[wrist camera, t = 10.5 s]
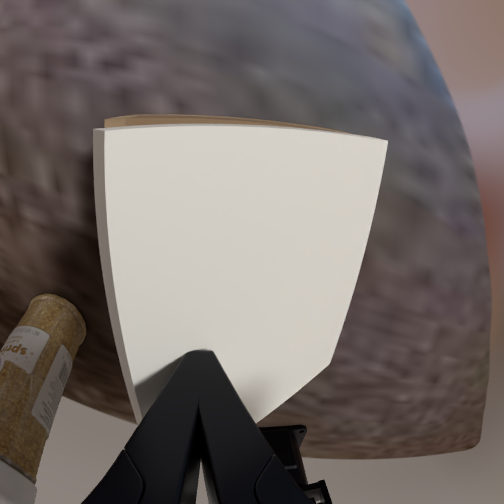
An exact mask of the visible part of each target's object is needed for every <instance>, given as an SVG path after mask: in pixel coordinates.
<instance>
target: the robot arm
mask: <svg viewBox="0 0 504 504" xmlns="http://www.w3.org/2000/svg"><path fill="white" fill-rule="evenodd" d="M306 432H307V428H306V426H292V427H281V428H267V429H259V428H258V426H257V425H256V423H255V421H254V420H253V418H252V416H251V415H250V413H249V412H248V410H247V408H246V407H245V405H244V403H243V402H242V400H241V398H240V397H239V395H238V393H237V391H236V390H235V388H234V386H233V385H232V383H231V381H230V379H229V378H228V376H227V374H226V372H225V371H224V369H223V367H222V365H221V364H220V362H219V360H218V358H217V356H216V355H215V353H214V352H213V351H212V350H192V351H189V352H187V353H186V354H185V355H184V356H183V358H182V359H181V361H180V362H179V364H178V365H177V367H176V368H175V370H174V371H173V373H172V374H171V376H170V378H169V379H168V381H167V382H166V384H165V385H164V387H163V388H162V390H161V391H160V393H159V394H158V396H157V397H156V399H155V401H154V402H153V404H152V405H151V407H150V408H149V410H148V411H147V413H146V414H145V416H144V417H143V419H142V421H141V422H140V424H139V425H138V427H137V428H136V430H135V431H134V433H133V434H132V436H131V438H130V439H129V441H128V442H127V444H126V445H125V447H124V449H125V450H122V451H121V453H120V454H119V456H118V457H117V459H116V460H115V462H114V463H113V465H112V466H111V467H110V469H109V470H108V472H107V473H106V475H105V476H104V477H103V479H102V480H101V481H100V482H99V483H98V485H97V486H96V487H95V488H94V489H93V491H92V492H91V493H90V494H89V495H88V497H87V498H86V499H85V500H84V501H83V502H82V503H81V504H196V495H197V487H198V478H199V470H200V462H201V463H202V468H203V474H204V480H205V485H206V491H207V496H208V501H209V504H316V501H319V500H320V501H321V503H317V504H332V501H331V498H330V495H329V492H328V489H327V486H326V483H325V480H321V481H318V482H317V483H312V484H308V481H307V477H306V474H305V470H304V466H303V462H302V458H301V454H300V450H299V447H300V445H301V443H302V441H303V439H304V437H305V434H306Z"/></svg>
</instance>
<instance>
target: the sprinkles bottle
mask: <svg viewBox="0 0 504 504" xmlns="http://www.w3.org/2000/svg"><path fill="white" fill-rule="evenodd" d="M85 336H86V324H85V321H84V319H83V317H82V315H81V314H80V312H79V311H78V309H77V308H76V307H75V306H74V305H73V304H72V303H70V302H69V301H68V300H66V299H64V298H62V297H59V296H57V295H55V294H50V293H47V294H42V295H38V296H36V297H34V299H32V300H31V302H30V304H29V306H28V310H27V311H26V313H25V314H24V316H23V317H22V319H21V320H20V322H19V323H18V325H17V327H16V328H15V329H14V330H13V331H12V333H11V334H10V336H9V337H8V339H7V341H6V342H5V344H4V346H3V347H2V349H1V351H0V504H34V502H35V497H36V493H37V489H36V487H35V483H36V474H37V471H38V467H39V463H40V460H41V456H42V453H43V449H44V446H45V442H46V440H47V438H48V437H49V433H50V430H51V427H52V423H53V420H54V417H55V414H56V411H57V408H58V405H59V402H60V399H61V397H62V394H63V391H64V388H65V385H66V383H67V380H68V377H69V375H70V372H71V369H72V363H73V360H74V358H75V355H76V353H77V350H78V347H79V345H81V344H82V342H83V341H84V338H85Z"/></svg>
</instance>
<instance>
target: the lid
mask: <svg viewBox="0 0 504 504" xmlns="http://www.w3.org/2000/svg"><path fill="white" fill-rule="evenodd" d="M387 144H388V141H386V140H382V139H378V138H374V137H367V136H361V135H354V134H347V133H339V132H331V131H323V130H313V129H303V128H292V127H279V126H264V125H243V124H158V125H138V126H123V127H111V128H100V129H93V170H94V193H95V209H96V221H97V232H98V242H99V250H100V258H101V266H102V273H103V280H104V286H105V293H106V299H107V304H108V310H109V315H110V320H111V325H112V330H113V335H114V339H115V344H116V348H117V353H118V357H119V361H120V365H121V369H122V373H123V377H124V381H125V384H126V388H127V391H128V395H129V398H130V402H131V405H132V408H133V412H134V415H135V418H136V421H137V424H138V425H139V424H140V422H141V421H142V419H143V417H144V416H145V414H146V413H147V411H148V410H149V408H150V407H151V405H152V404H153V402H154V401H155V399H156V397H157V396H158V394H159V393H160V391H161V390H162V388H163V387H164V385H165V384H166V382H167V381H168V379H169V378H170V376H171V374H172V373H173V371H174V370H175V368H176V367H177V365H178V364H179V362H180V361H181V359H182V358H183V356H184V355H185V354H186V353H187V352H189V351H192V350H212V351H213V352H214V353H215V355H216V356H217V358H218V360H219V362H220V364H221V365H222V367H223V369H224V371H225V372H226V374H227V376H228V378H229V379H230V381H231V383H232V385H233V386H234V388H235V390H236V391H237V393H238V395H239V397H240V398H241V400H242V402H243V403H244V405H245V407H246V408H247V410H248V412H249V413H250V415H251V416H252V418H253V420H254V421H255V423H257V422H258V421H260V420H261V419H263V418H264V417H265V416H267V415H268V414H269V413H271V412H272V411H273V410H274V409H276V408H277V407H278V406H280V405H281V404H282V403H283V402H285V401H286V400H287V399H288V398H290V397H291V396H292V395H293V394H295V393H296V392H297V391H298V390H300V389H301V388H302V387H303V386H304V385H306V384H307V383H308V382H309V381H310V380H312V379H313V378H314V377H315V376H316V375H317V374H319V373H320V372H321V371H322V370H323V369H324V368H325V367H327V366H328V365H329V364H330V361H331V359H332V356H333V353H334V350H335V347H336V344H337V341H338V338H339V336H340V333H341V330H342V326H343V323H344V320H345V317H346V314H347V311H348V308H349V304H350V301H351V298H352V295H353V291H354V288H355V284H356V281H357V277H358V274H359V270H360V267H361V263H362V259H363V255H364V252H365V248H366V244H367V240H368V236H369V232H370V228H371V224H372V219H373V215H374V211H375V206H376V201H377V197H378V192H379V187H380V182H381V177H382V172H383V167H384V161H385V156H386V150H387Z"/></svg>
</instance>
